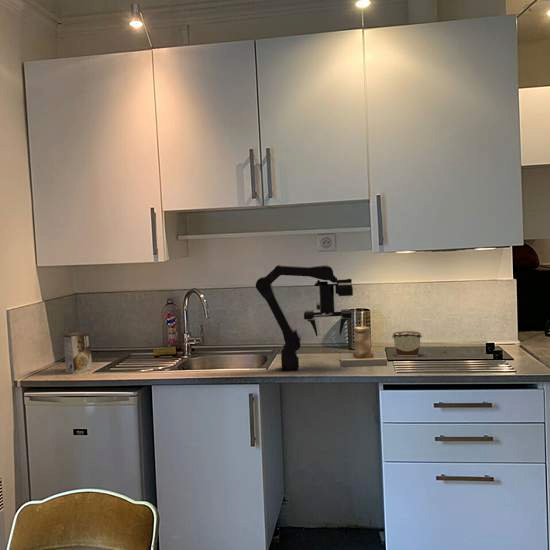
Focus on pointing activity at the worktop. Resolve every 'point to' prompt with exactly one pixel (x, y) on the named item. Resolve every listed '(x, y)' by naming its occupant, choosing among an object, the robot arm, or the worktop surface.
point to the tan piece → (362, 343)
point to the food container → (407, 342)
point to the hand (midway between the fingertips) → (328, 335)
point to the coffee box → (77, 352)
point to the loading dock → (363, 360)
